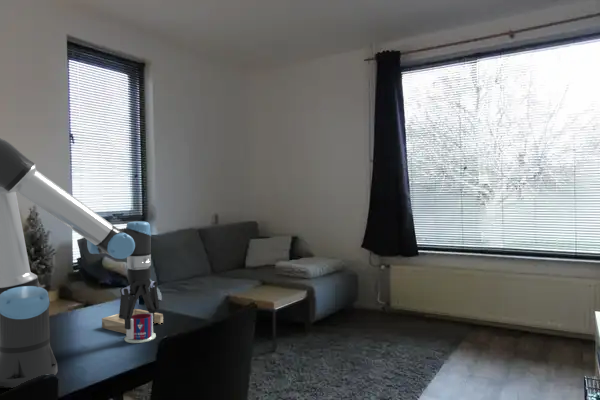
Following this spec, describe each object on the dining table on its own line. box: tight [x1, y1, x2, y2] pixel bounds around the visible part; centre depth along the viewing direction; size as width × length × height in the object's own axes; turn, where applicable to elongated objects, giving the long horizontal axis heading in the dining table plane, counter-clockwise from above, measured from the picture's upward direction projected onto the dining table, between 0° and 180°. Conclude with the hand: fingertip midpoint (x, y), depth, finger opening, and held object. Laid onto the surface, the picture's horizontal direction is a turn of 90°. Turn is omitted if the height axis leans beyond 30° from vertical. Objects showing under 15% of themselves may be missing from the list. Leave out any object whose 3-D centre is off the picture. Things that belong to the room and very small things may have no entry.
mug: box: [131, 314, 152, 340], centre depth 153 cm, size 7×10×7 cm
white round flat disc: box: [123, 331, 157, 344], centre depth 152 cm, size 10×10×1 cm
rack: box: [101, 308, 164, 334], centre depth 166 cm, size 15×15×4 cm
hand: (140, 334), depth 152 cm, fingers closed on mug, 7 cm apart
